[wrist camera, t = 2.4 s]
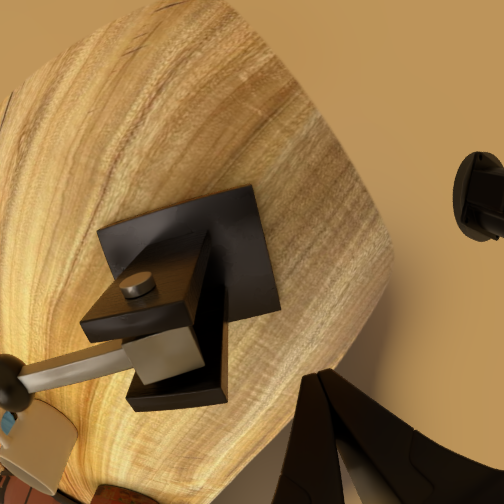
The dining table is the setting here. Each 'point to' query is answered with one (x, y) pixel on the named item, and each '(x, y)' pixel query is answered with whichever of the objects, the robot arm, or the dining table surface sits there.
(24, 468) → the mug
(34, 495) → the toaster
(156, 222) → the bracket
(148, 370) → the lever
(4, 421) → the blue flat round piece
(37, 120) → the dining table surface
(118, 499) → the food container
